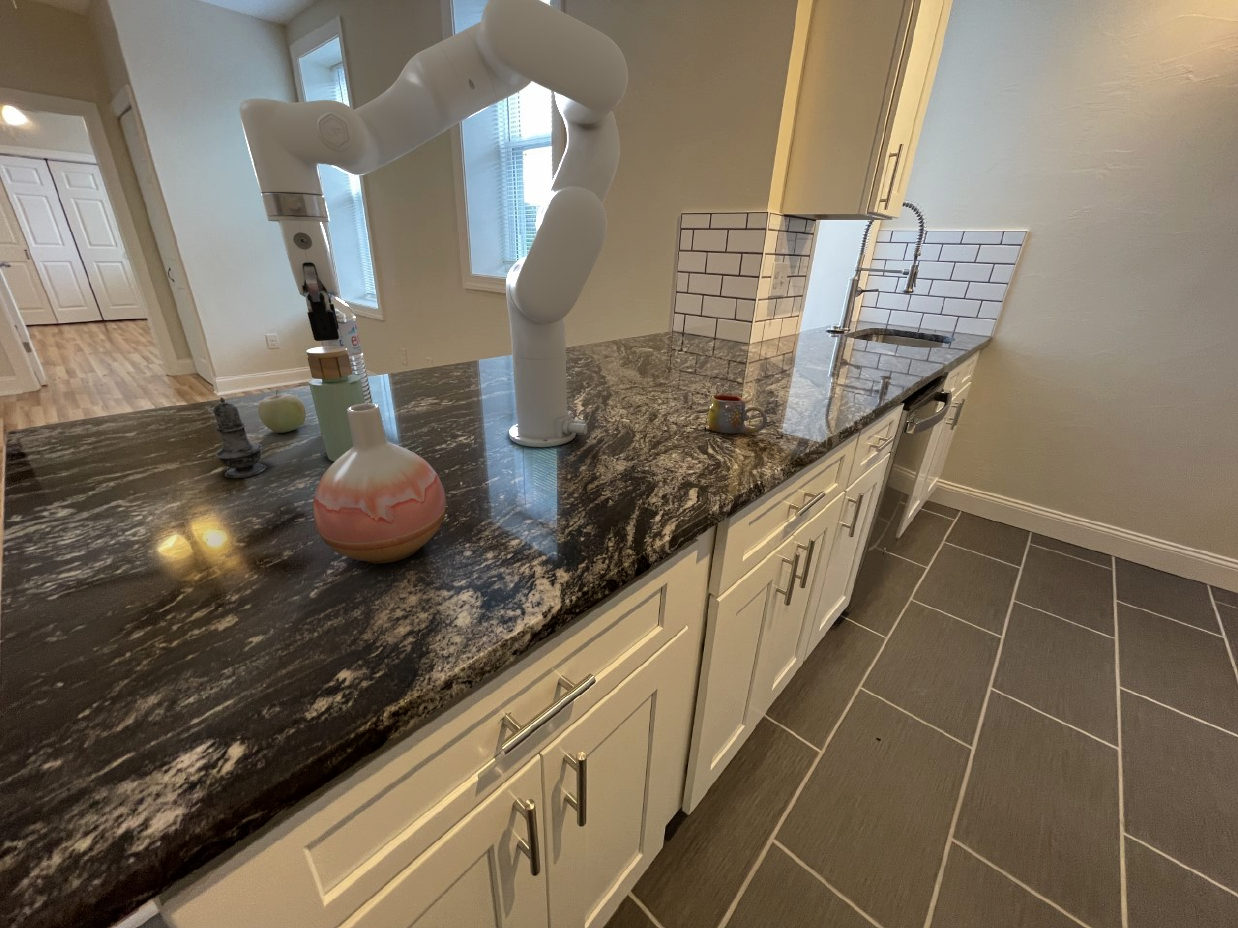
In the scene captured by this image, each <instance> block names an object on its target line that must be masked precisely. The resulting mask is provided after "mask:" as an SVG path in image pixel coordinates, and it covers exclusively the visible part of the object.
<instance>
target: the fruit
mask: <svg viewBox="0 0 1238 928" xmlns="http://www.w3.org/2000/svg"><path fill="white" fill-rule="evenodd" d="M278 393H279V390H277V389H275V394H273V395H270V396H266V397H265V398H264V399H262V400H261V401H260V402H259V404H258V406H257V414H258V418H259V419H260V421H261V423H262V424H263V425H264V426H265V427H266V428H267V429H269V430H270V431H273V432H275V433H277V434H278V433H279V434H283V433H288V432H291V431H295V430H297V429H299V428H301V427H302V426H303V425H304V423H305V421H306V417H307V412H306V407H305V404H304V403H303V401H302V400H301V399H300V398H299V397H298V396H296V395H294V394H291V393H280V394H278Z"/></svg>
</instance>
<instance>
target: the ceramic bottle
mask: <svg viewBox="0 0 1238 928" xmlns="http://www.w3.org/2000/svg"><path fill="white" fill-rule="evenodd" d="M308 384H309V385H308V386H309V389H310V393H311V397H312V401H313V405H314V409H315V413H316V417H317V421H318V425H319V429H320V433H321V436H322V440H323V445H324V448H325V452H326V456H327V459H328V460H329V461H331V462H335V461H336V460H337V459H338V458H339V457H341V456H342V455H343V454H344V453H346V452H347V451H348V450H350V449H351V448H352V447H353V441H352V435H351V430H350V425H349V420H348V415H347V409H348V408H349V407H351V406H353V405H357V404H364V403H365V399H364V394H363V389H362V384H361V379H360V376H358V375H353V374H352V375H349V376H346V377H342V378H341V377H340V378H334V379H317V378H312V379H310V380H309V381H308Z"/></svg>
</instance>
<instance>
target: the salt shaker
mask: <svg viewBox="0 0 1238 928" xmlns="http://www.w3.org/2000/svg"><path fill="white" fill-rule="evenodd" d="M212 411H213V414H214V417H215V420H216V423H217V427H216V428H215V429H216V431H217V432H219V433H220V437H221V439H222V445H223V446H222V448H220V449H218V450H217V451H216V452H215V454H214V456H215V457H216V458H218V459H219V461H220V462H221V463H222V465H224V466H225V467H228V468H229V469H228V470H226V472H225V473H224V477H226V478H227V479H245V478H250V477H253V476H256V475H258V474H259V475H260V474H261V473H263V472H264V471H266V469H267V466H266V464H264V463H260V462H259V460H260V459H261V458H262V449H263V445H262V444H260V443H256V442H251V440H250V438H249V437H248V434H247V432H246V429H245V427H247V424H246V423H244V422H243V420H242V418H241V415H240V411H239V409H238V406H237V405H236V404H234V403H232V402H226V399H225V398H223V397H220V399H219V403H218V404H217V405H215V406H214V407H213V410H212Z"/></svg>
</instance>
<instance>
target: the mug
mask: <svg viewBox="0 0 1238 928" xmlns="http://www.w3.org/2000/svg"><path fill="white" fill-rule="evenodd" d="M708 409H709V410H708V413H707V414H708V415H707V426H706V430H707V431H713V432H715V433H720V434H728V435H729V434H730V435H731V434H745V435H747V434H749V435H750V434H756V433H759V432H761V431H763V430H764V428H765V427H766V426H767V423H768V416H767V414H766V411H764V410H763V409H762V408H761V407H759V406H750V407H748V408H746V401H745V400H744V399H743V398H742V397H741V396H739V395H732V394H731V395H730V394H714V395H712V396H711V404H710V406H709V408H708ZM752 411H756V412H758V413H759V414H760V415H761V417H762V422H761V423H760V424H759V425H757V427H747V426H746V424H745V422H746V421H749V420H750V415H749V414H748V413H749V412H752Z"/></svg>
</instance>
